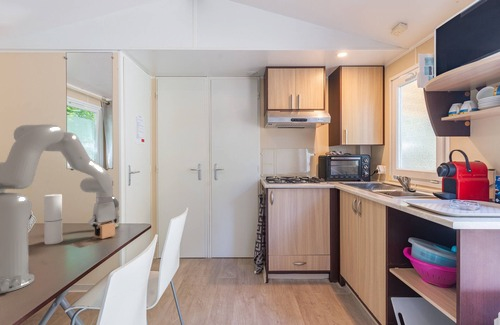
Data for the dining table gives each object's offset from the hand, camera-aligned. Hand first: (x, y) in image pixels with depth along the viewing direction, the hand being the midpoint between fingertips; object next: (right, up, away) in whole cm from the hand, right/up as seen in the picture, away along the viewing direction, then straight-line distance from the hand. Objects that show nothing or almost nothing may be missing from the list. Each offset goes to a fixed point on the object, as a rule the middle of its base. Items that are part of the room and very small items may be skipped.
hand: (104, 233), depth 137 cm
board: (-2, -4, -4) cm, 6 cm away
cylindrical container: (-22, -4, -7) cm, 23 cm away
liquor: (-7, -4, +19) cm, 20 cm away
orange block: (0, -1, 0) cm, 1 cm away
